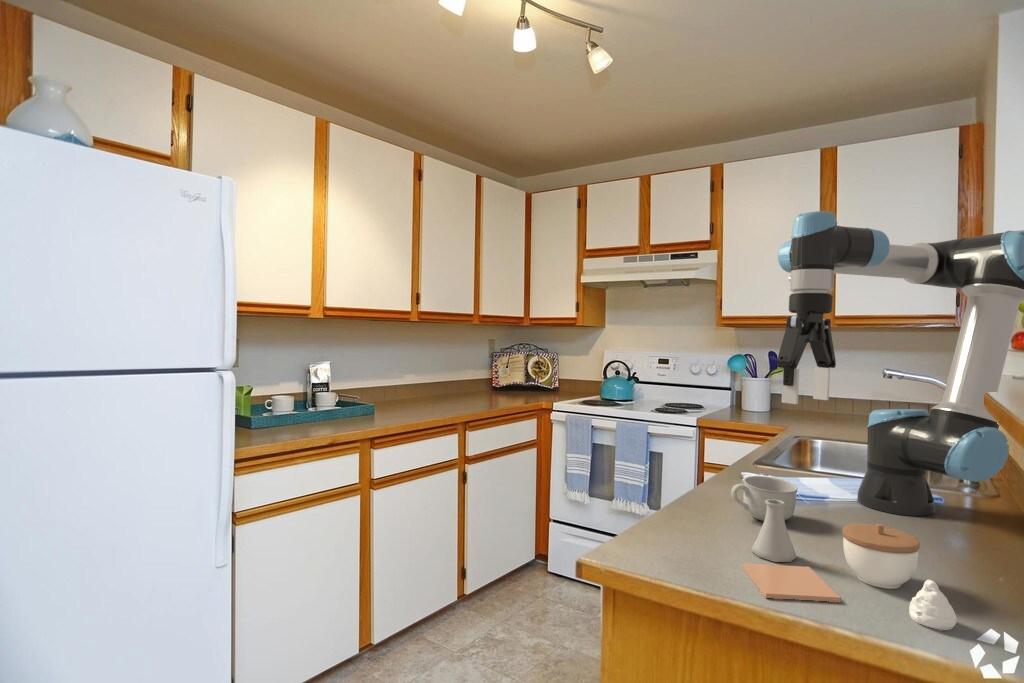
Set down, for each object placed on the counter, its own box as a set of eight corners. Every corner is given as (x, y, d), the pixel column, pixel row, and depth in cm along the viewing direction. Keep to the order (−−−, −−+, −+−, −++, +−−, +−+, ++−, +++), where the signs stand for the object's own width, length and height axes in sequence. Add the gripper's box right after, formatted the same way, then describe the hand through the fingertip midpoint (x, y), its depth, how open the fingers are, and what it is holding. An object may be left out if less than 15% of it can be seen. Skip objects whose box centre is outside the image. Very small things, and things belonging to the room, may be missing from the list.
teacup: (785, 511, 129) (786, 476, 129) (804, 528, 118) (806, 490, 118) (722, 508, 130) (723, 474, 130) (736, 525, 119) (737, 487, 119)
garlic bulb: (905, 570, 84) (949, 576, 82) (903, 610, 84) (947, 617, 82) (917, 586, 79) (964, 593, 77) (915, 628, 79) (963, 636, 77)
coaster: (808, 571, 97) (809, 566, 97) (840, 602, 86) (840, 597, 86) (742, 568, 98) (742, 563, 98) (765, 598, 87) (765, 593, 87)
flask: (743, 551, 106) (745, 498, 105) (772, 545, 108) (773, 494, 108) (775, 566, 99) (777, 509, 99) (804, 560, 102) (806, 505, 102)
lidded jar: (890, 601, 87) (892, 540, 87) (826, 572, 97) (828, 518, 96) (933, 588, 91) (935, 531, 91) (868, 562, 101) (869, 511, 101)
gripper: (818, 297, 121) (813, 396, 121) (760, 289, 105) (755, 402, 106) (856, 296, 115) (851, 400, 116) (801, 287, 99) (796, 407, 100)
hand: (805, 401), depth 111 cm, fingers open, 13 cm apart
